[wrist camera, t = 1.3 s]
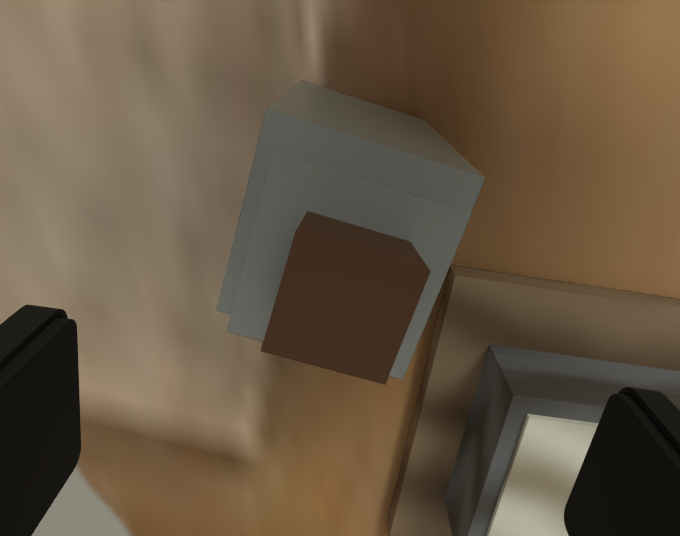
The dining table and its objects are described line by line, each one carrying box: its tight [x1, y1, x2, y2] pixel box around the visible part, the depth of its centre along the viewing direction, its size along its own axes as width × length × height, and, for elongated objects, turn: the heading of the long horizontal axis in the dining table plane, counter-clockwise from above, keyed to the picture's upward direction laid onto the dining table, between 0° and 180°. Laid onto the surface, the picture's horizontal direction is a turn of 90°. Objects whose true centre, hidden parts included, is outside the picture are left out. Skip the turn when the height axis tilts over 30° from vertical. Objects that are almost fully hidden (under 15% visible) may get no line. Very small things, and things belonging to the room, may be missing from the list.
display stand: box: [388, 265, 680, 536], centre depth 33 cm, size 20×18×7 cm
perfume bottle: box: [216, 80, 485, 384], centre depth 21 cm, size 7×7×18 cm
